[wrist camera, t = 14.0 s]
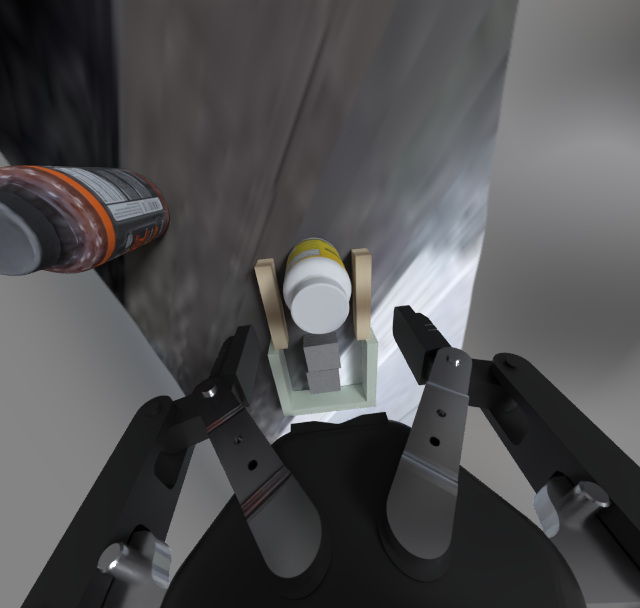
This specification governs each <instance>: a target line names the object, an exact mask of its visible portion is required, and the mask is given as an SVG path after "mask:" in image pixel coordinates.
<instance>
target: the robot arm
mask: <svg viewBox="0 0 640 608" xmlns="http://www.w3.org/2000/svg"><path fill="white" fill-rule="evenodd" d="M393 336H394V339H395V341H396V343H397V345H398V347H399V348H400V350H401V352H402V354H403V356H404V358H405V360H406V362H407V364H408V366H409V367H410V369H411V371H412V373H413V375H414V377H415V379H416V381H417V383H418V384H419V385H425V384H426V385H425V388H424V391H423V394H422V397H421V400H420V403H419V406H418V410H417V413H416V416H415V419H414V422H413V425H412V428H411V427H409V426H407V425H405V424H403V423H400V422H398V421H394V420H388V418H387V415H386V412H380V413H373V414H365V415H361V416H358V417H356V418H353V419H351V420H348V421H346V422H343V423H341V424H334V423H326V422H318V421H311V422H303V423H295V424H291V432H289V433H287V434H285V435H283V436H282V437H280V438H279V439H277V440H276V441H275V442H274V443H273V444H272V445H270V443H269V442H268V441H267V439H266V438H265V436H264V435H263V433H262V432H261V430H260V429H259V427H258V426H257V425H256V423H255V422H254V420H253V419H252V417H251V416H250V414H249V413H248V411H247V410H246V409H245V407H249V406H250V403H251V398H252V394H253V389H254V384H255V379H256V374H257V370H258V365H259V360H260V353H261V352H260V345H259V342H258V339H257V336H256V332H255V329H254V327H253V325H246V326H239V327H238V328H237V331H236V333H235V336H230V337H229V338H228V339H227V340H226V341H225V342H224V343H223V345H222V348H221V350H220V352H219V355H218V358H217V359H216V362H215V364H214V366H213V369H212V371H211V373H210V376H209V378H208V379H206V380H204V381H202V382H201V383H200V384H198V385H197V386H196V388H195V389H194V391H193V393H192V394H191V395H188V396H186V397H183V398H181V399H178V400H175V401H172V399H171V398H170V397H169V396H158V397H155V398H153V399H151V400H149V401H148V402H146V403H145V404H144V405H143V406H142V407H141V408H140V409H139V410H138V411H137V413H136V414H135V416H134V417H133V419H132V421H131V423H130V424H129V426H128V428H127V429H126V431H125V433H124V434H123V436H122V438H121V439H120V441H119V443H118V444H117V446H116V448H115V450H114V451H113V453H112V455H111V456H110V458H109V460H108V461H107V463H106V465H105V466H104V468H103V470H102V471H101V473H100V475H99V476H98V478H97V480H96V481H95V483H94V485H93V487H92V488H91V490H90V492H89V493H88V495H87V497H86V498H85V500H84V502H83V503H82V505H81V507H80V508H79V510H78V512H77V513H76V515H75V517H74V518H73V520H72V522H71V523H70V525H69V527H68V529H67V530H66V532H65V534H64V535H63V537H62V539H61V540H60V542H59V544H58V545H57V547H56V549H55V550H54V552H53V554H52V556H51V557H50V559H49V561H48V562H47V564H46V566H45V567H44V569H43V571H42V572H41V574H40V576H39V577H38V579H37V581H36V583H35V584H34V586H33V587H32V589H31V591H30V592H29V594H28V596H27V598H26V599H25V601H24V603H23V605H22V606H21V608H640V467H639V466H638V465H637V464H636V463H635V462H634V461H633V460H632V459H631V458H630V457H628V456H627V455H626V454H625V453H624V452H623V451H622V450H621V449H620V448H619V447H618V446H617V445H616V444H615V443H614V442H613V441H612V440H611V439H609V438H608V436H606V435H605V434H604V433H603V432H602V431H601V430H600V429H599V428H598V427H597V426H596V425H595V424H594V423H593V422H592V421H591V420H590V419H589V418H588V417H587V416H585V415H584V414H583V413H582V412H581V411H580V410H579V409H578V408H577V407H576V406H575V405H574V404H573V403H572V402H571V401H570V400H569V399H568V398H567V397H566V396H565V395H563V394H562V393H561V392H560V391H559V390H558V389H557V388H556V387H555V386H554V385H553V384H552V383H551V382H550V381H549V380H548V379H547V378H545V376H544V375H542V374H541V373H540V372H539V371H538V370H537V369H536V368H535V367H534V366H533V365H532V364H531V363H530V362H529V361H527V360H526V359H524V358H522V357H520V356H518V355H515V354H511V353H499V354H496V355H495V356H494V357H493V360H492V361H486V360H478V359H472V358H471V357H470V356H469V355H468V354H467V353H466V352H464V351H462V350H460V349H457V348H453V347H451V345H450V344H449V343H448V342H447V340H446V339H445V338H444V337H443V336H442V334H441V333H440V332H439V331H438V330H437V328H436V327H435V326H434V325H433V323H432V322H431V321H430V320H429V318H428V317H426V316H424V315H423V314H421V313H415V312H414V311H413V309H412V308H411V307H410V306H409V305H406V306H399V307H395V308H394V317H393ZM468 406H473V407H480V408H481V410H482V412H483V413H484V415H485V416H486V418H487V419H488V421H489V422H490V424H491V425H492V427H493V428H494V430H495V431H496V433H497V434H498V436H499V437H500V439H501V440H502V442H503V444H504V445H505V447H506V448H507V450H508V451H509V453H510V454H511V456H512V457H513V459H514V460H515V462H516V463H517V465H518V466H519V468H520V469H521V471H522V472H523V474H524V475H525V477H526V478H527V480H528V482H529V483H530V485H531V486H532V488H533V489H534V491H535V492H536V495H535V497H534V509H535V512H536V514H537V516H538V518H539V520H540V522H541V525H542V528H543V531H542V530H541V529H540V528H539V527H538V526H537V525H535V524H534V523H533V522H532V521H531V520H530V519H528V518H527V517H526V516H525V515H523V514H522V513H521V512H520V511H518V510H517V509H516V508H514V507H513V506H512V505H511V504H509V503H508V502H507V501H506V500H504V499H503V498H502V497H500V496H499V495H498V494H497V493H495V492H494V491H493V490H491V489H490V488H489V487H488V486H486V485H485V484H484V483H482V482H481V481H479V479H477V478H476V477H475V476H473V475H472V474H471V473H470V472H468V471H467V470H466V469H465V468H463V467H462V466H461V465H460V459H461V452H462V445H463V438H464V431H465V424H466V417H467V410H468ZM208 438H210V441H211V443H212V445H213V447H214V449H215V451H216V453H217V456H218V457H219V460H220V462H221V464H222V466H223V468H224V470H225V473H226V475H227V477H228V479H229V482H230V484H231V486H232V488H233V490H234V492H235V493H234V495H233V496H232V497H231V499H230V500H229V501H228V503H227V504H226V505H225V507H224V508H223V509H222V511H221V512H220V513H219V515H218V516H217V517H216V519H215V520H214V522H213V523H212V524H211V526H210V527H209V528H208V530H207V531H206V532H205V534H204V535H203V536H202V538H201V539H200V540H199V542H198V543H197V545H196V546H195V547H194V549H193V550H192V551H191V553H190V554H189V555H188V557H187V558H186V559H185V561H184V562H183V564H182V565H181V566H180V568H179V569H178V571H177V572H176V574H175V576H174V577H173V579H172V581H171V583H170V584H169V569H170V564H171V550H170V547H169V546H168V545H167V544H166V543H165V539H166V536H167V532H168V529H169V526H170V523H171V520H172V517H173V513H174V511H175V507H176V504H177V501H178V498H179V495H180V492H181V488H182V485H183V482H184V479H185V476H186V473H187V469H188V466H189V463H190V460H191V457H192V454H193V450H194V447H195V444H197V443H199V442H201V441H204V440H206V439H208Z"/></svg>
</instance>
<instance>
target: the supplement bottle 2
mask: <svg viewBox="0 0 640 608" xmlns="http://www.w3.org/2000/svg"><path fill="white" fill-rule="evenodd" d="M283 295H284V300H285V302H286V304H287V306H288V308H289V309H290V310H291V315H292V318H293V320H294V322H295V323H296V324H297V326H298V327H300V328H301V329H302V330H304V331H306V332H309V333H313V334H325V333H329V332H332V331H334V330H336V329H337V328H339V327H340V326H341V325H342V324H343V323H344V322H345V320H346V318H347V316H348V313H349V300H350V296H351V282H350V279H349V276H348V274H347V271H346V269H345V267H344V265H343V262H342V260H341V258H340V256H339V254H338V252H337V251H336V249H335V248H334V247H333V245H331V244H330V243H329V242H327V241H326V240H323V239H320V238H308V239H305V240H302V241H300V242H299V243H297V244H296V245H295V246H294V247H293V248H292V250H291V251H290V253H289V256H288V260H287V265H286V272H285V278H284V284H283Z"/></svg>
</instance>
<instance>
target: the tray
mask: <svg viewBox="0 0 640 608" xmlns="http://www.w3.org/2000/svg"><path fill="white" fill-rule="evenodd" d="M377 357H378V342H377V339H376V337H375V335H374V332H373V330H372V328H371V327H370V339H366V340H362V384H355V385H346V386H340V388H341V391H334V392H327V393H319V394H311V393H310V390H302V391H293V390H292V386H291V381H290V377H289V372H288V368H287V363H286V359H285V354H284V350H283V349H278V350H275V349H274V345H273V341H272V339H271V341H270V346H269V351H268V358H269V362H270V366H271V369H272V373H273V377H274V380H275V384H276V388H277V391H278V395H279V399H280V402H281V406H282V410H283V414H284V417H287V416H296V415H304V414H313V413H322V412H331V411H339V410H348V409H357V408H365V407H374V406H376V383H377Z"/></svg>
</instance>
